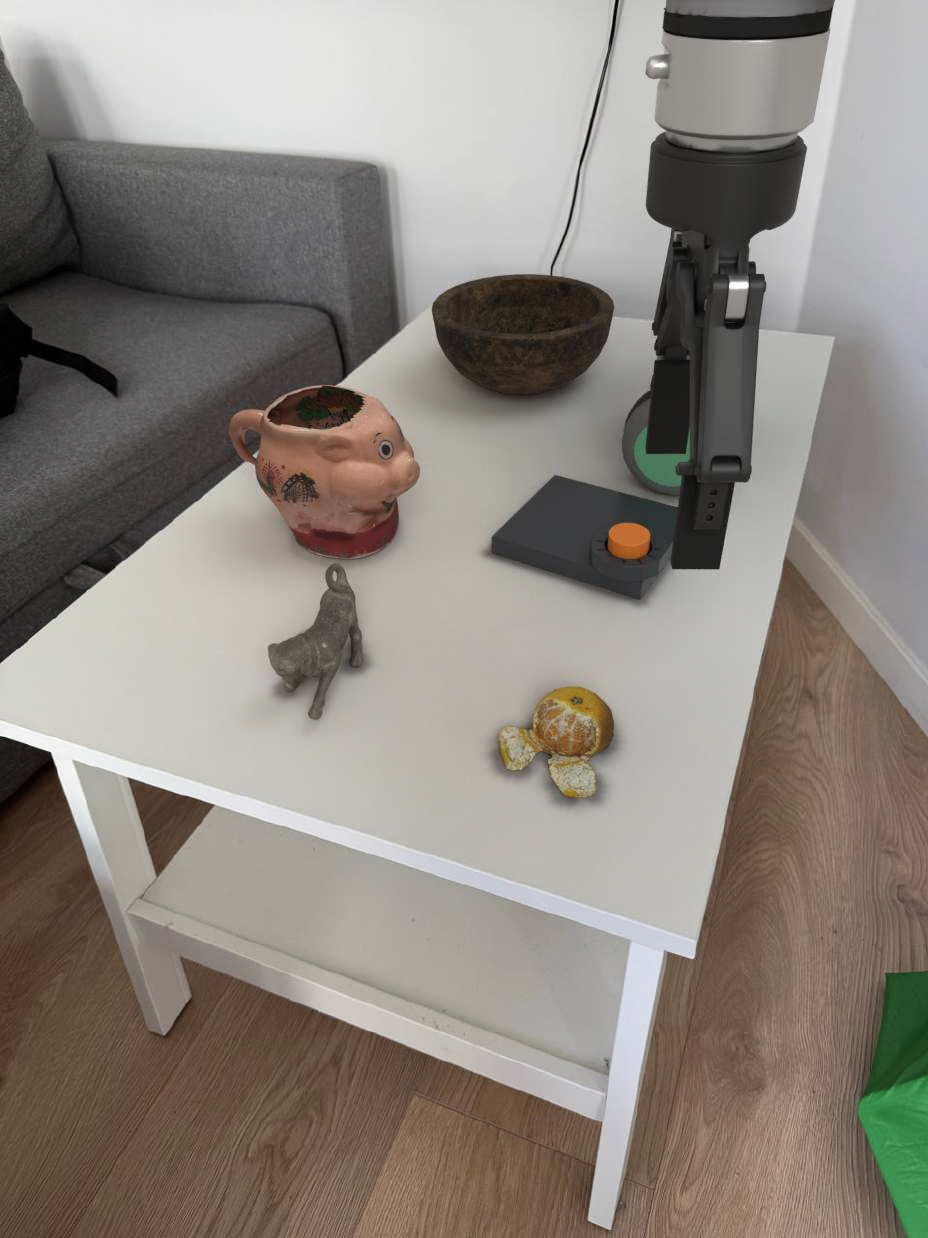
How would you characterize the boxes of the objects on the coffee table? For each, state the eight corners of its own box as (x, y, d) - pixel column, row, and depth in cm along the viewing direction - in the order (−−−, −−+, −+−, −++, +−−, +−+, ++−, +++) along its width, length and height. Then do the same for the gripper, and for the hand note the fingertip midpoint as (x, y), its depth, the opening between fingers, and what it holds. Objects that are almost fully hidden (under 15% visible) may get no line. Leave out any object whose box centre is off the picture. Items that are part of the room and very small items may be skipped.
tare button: (655, 543, 81) (656, 529, 80) (639, 564, 79) (640, 549, 78) (617, 532, 83) (618, 518, 82) (600, 552, 80) (601, 538, 79)
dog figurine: (317, 623, 79) (305, 552, 74) (380, 634, 77) (372, 562, 73) (254, 719, 70) (236, 645, 65) (324, 733, 68) (310, 659, 64)
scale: (700, 530, 88) (705, 499, 86) (644, 607, 79) (648, 574, 77) (554, 490, 95) (555, 460, 93) (487, 557, 86) (486, 525, 84)
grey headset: (654, 413, 107) (673, 236, 95) (749, 428, 104) (782, 246, 91) (611, 493, 94) (626, 298, 81) (718, 512, 90) (752, 312, 78)
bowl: (560, 437, 104) (563, 352, 97) (402, 398, 113) (395, 319, 107) (636, 367, 118) (643, 289, 112) (490, 337, 127) (489, 264, 121)
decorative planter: (211, 550, 88) (177, 418, 79) (271, 488, 97) (247, 362, 88) (403, 585, 83) (390, 447, 74) (448, 516, 92) (441, 385, 83)
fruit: (485, 756, 66) (484, 720, 64) (547, 691, 71) (548, 655, 69) (584, 808, 62) (587, 772, 60) (642, 735, 67) (647, 699, 65)
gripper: (628, 88, 55) (605, 414, 68) (688, 204, 35) (639, 627, 49) (756, 85, 54) (707, 413, 68) (887, 200, 35) (782, 628, 48)
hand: (678, 503), depth 58 cm, fingers open, 13 cm apart
